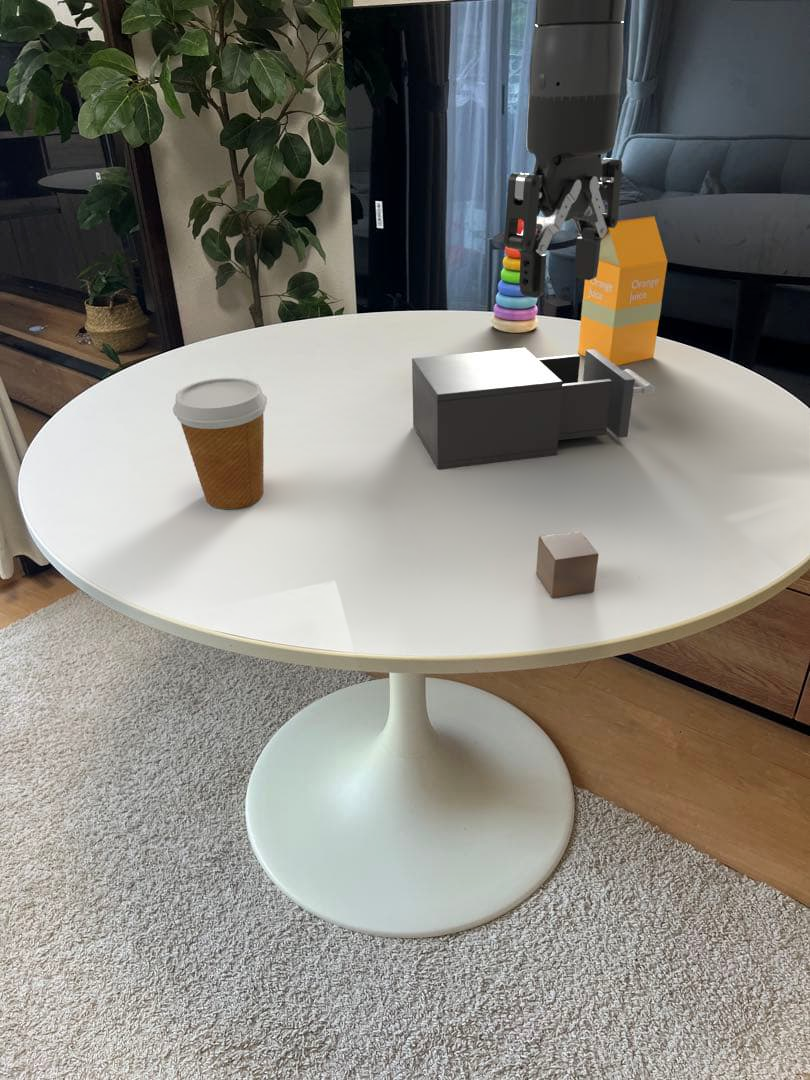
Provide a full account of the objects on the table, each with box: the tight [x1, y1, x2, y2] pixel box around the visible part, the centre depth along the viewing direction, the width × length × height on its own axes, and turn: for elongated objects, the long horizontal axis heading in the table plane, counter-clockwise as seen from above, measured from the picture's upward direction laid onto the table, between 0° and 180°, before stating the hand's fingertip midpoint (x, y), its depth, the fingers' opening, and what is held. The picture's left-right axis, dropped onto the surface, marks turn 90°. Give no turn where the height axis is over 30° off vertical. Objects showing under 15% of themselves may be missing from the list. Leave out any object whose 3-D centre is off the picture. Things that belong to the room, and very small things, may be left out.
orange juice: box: [577, 215, 668, 366], centre depth 118 cm, size 8×9×20 cm
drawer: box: [536, 349, 655, 441], centre depth 97 cm, size 18×11×7 cm, turn 102°
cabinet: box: [411, 347, 563, 470], centre depth 95 cm, size 15×13×9 cm
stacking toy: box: [491, 219, 539, 334], centre depth 132 cm, size 8×8×19 cm
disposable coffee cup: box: [172, 377, 268, 510], centre depth 83 cm, size 10×10×12 cm
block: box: [535, 530, 600, 599], centre depth 70 cm, size 4×4×4 cm
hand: (559, 286), depth 74 cm, fingers open, 8 cm apart
